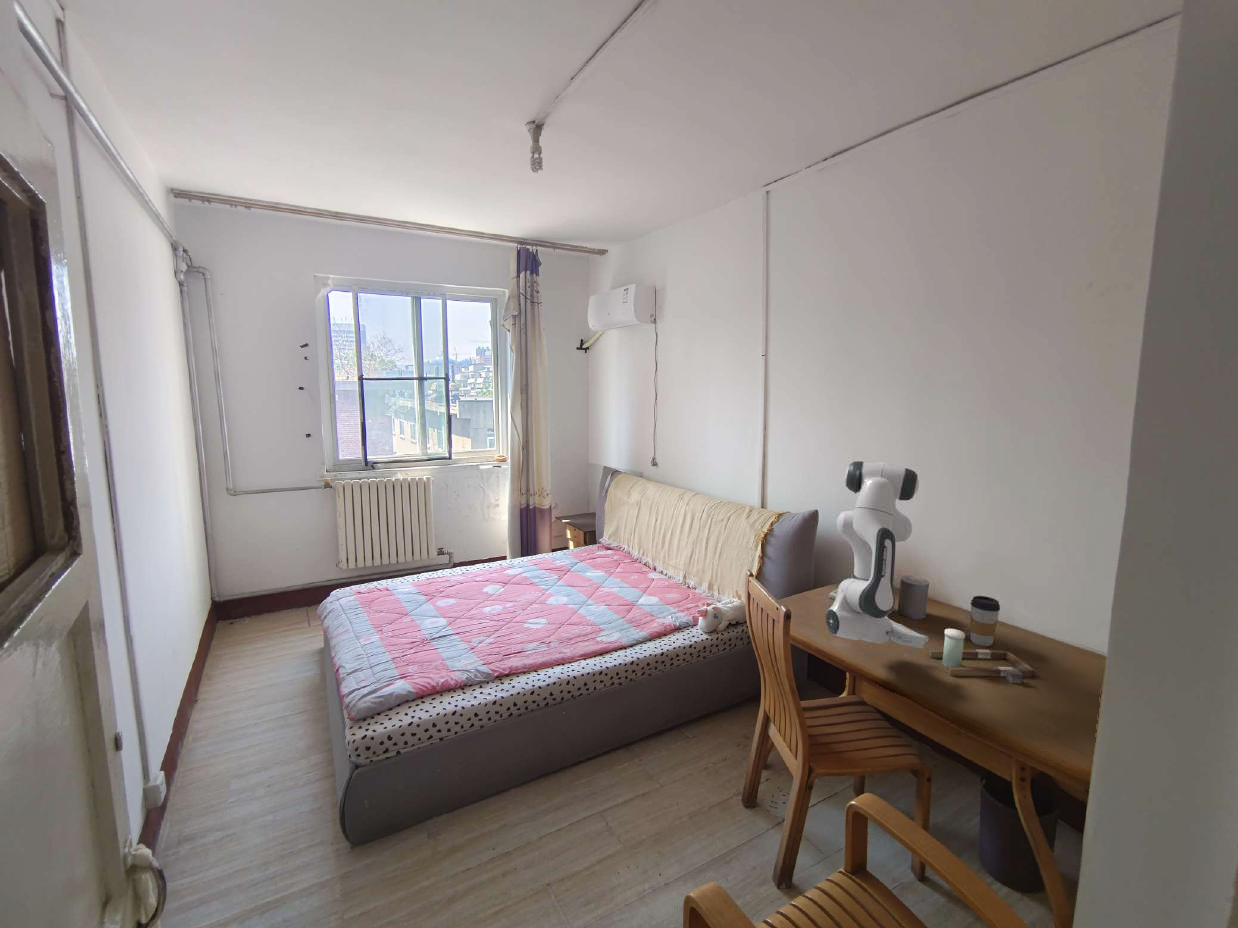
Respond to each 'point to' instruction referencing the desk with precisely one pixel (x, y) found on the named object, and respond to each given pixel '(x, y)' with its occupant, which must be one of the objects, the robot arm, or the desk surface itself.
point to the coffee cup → (983, 620)
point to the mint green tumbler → (953, 648)
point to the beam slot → (1011, 673)
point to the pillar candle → (913, 596)
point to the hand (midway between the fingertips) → (915, 633)
